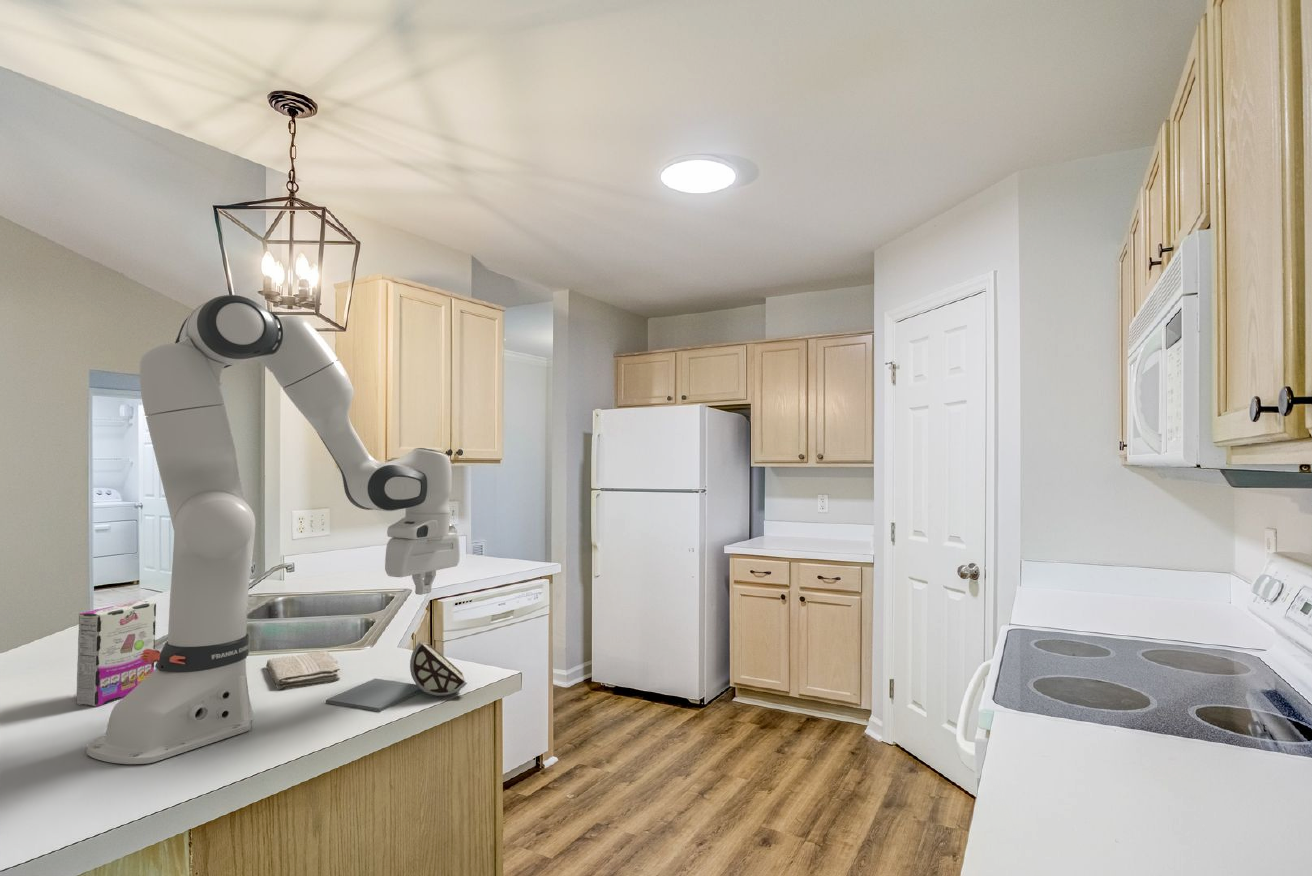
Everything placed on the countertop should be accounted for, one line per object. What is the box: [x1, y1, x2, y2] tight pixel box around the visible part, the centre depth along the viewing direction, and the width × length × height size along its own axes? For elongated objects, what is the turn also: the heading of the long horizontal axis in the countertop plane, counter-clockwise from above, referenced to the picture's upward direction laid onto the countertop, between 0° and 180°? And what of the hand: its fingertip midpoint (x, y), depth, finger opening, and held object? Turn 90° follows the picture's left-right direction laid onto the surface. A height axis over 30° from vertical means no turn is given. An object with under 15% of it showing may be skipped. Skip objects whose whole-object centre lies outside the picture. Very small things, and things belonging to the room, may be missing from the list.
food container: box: [409, 641, 468, 697], centre depth 132 cm, size 12×6×10 cm
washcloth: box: [265, 650, 341, 691], centre depth 140 cm, size 12×18×3 cm, turn 37°
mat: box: [325, 678, 423, 712], centre depth 128 cm, size 13×12×1 cm
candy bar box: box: [75, 600, 157, 708], centre depth 125 cm, size 11×5×16 cm, turn 168°
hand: (423, 593), depth 139 cm, fingers closed
